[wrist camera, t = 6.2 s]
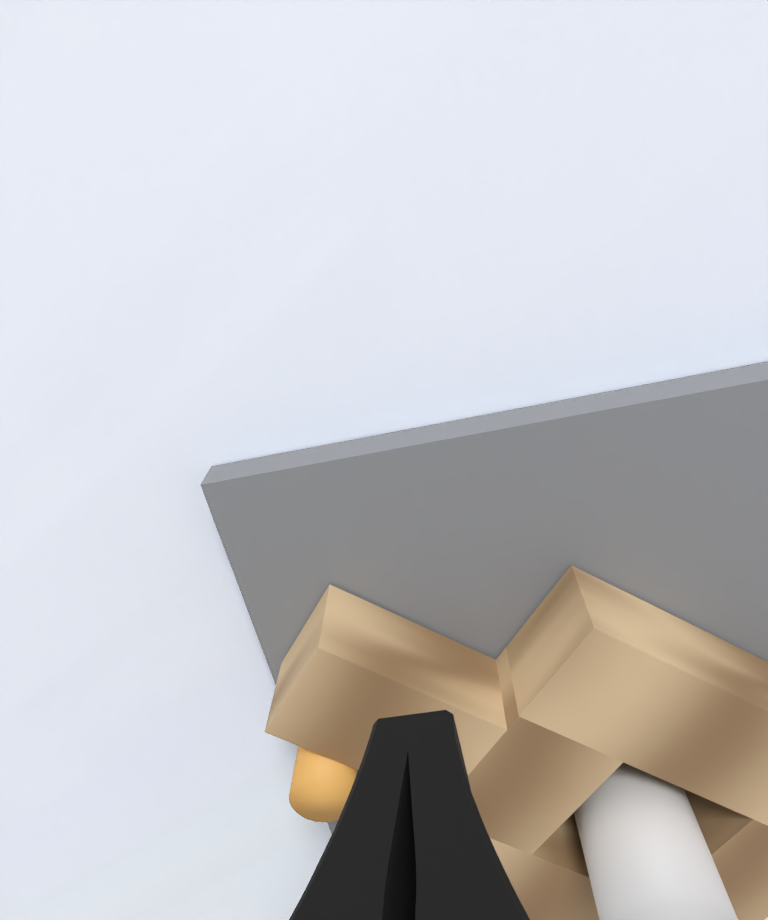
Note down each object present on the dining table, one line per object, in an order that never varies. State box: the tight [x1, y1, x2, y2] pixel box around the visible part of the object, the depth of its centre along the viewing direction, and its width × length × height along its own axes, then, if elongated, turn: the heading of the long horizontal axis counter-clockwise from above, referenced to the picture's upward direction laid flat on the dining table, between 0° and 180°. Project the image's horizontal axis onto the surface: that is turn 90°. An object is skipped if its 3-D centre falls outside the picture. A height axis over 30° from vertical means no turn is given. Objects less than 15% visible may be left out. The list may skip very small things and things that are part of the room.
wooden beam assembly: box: [265, 565, 768, 920], centre depth 18 cm, size 15×10×2 cm, turn 62°
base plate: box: [201, 362, 768, 920], centre depth 17 cm, size 18×18×6 cm
